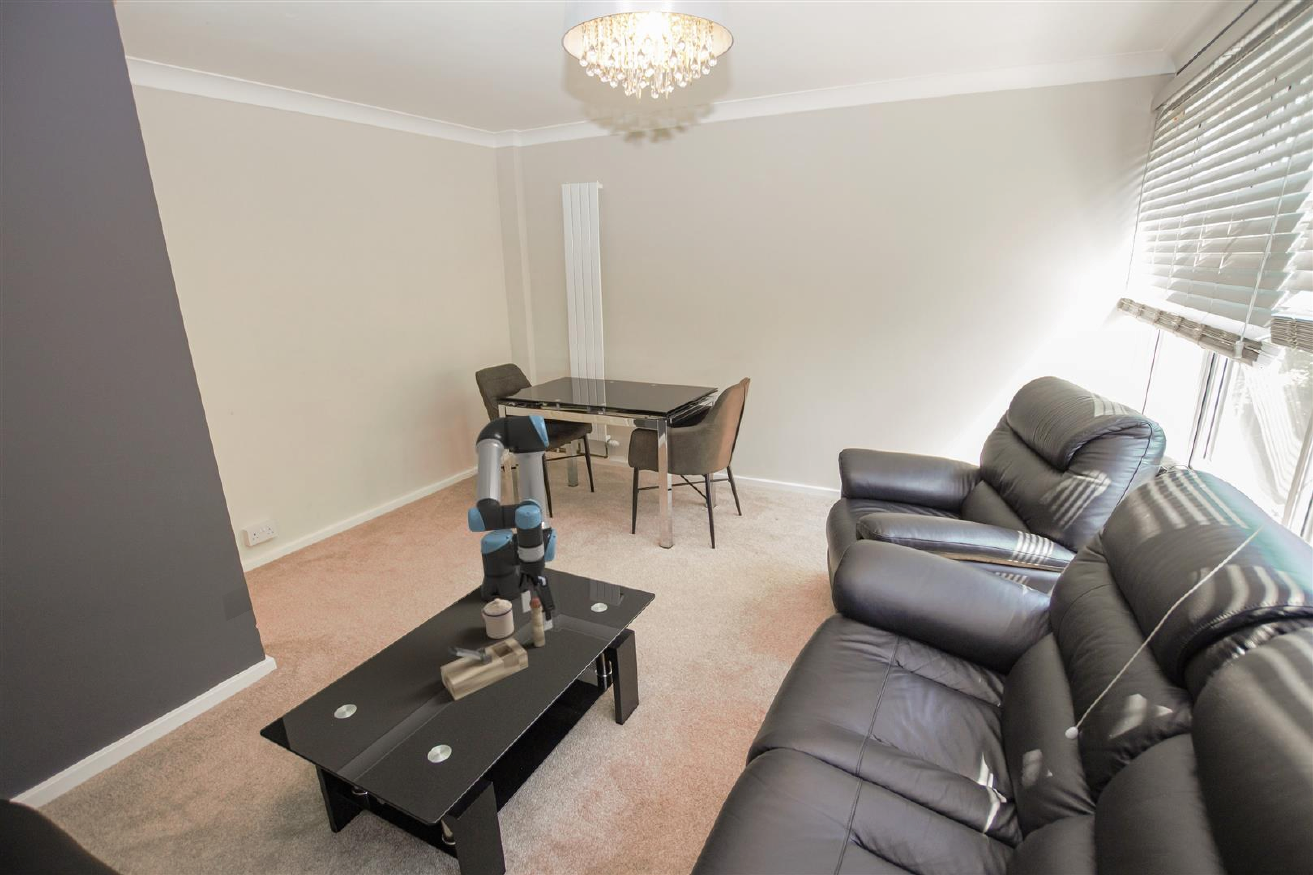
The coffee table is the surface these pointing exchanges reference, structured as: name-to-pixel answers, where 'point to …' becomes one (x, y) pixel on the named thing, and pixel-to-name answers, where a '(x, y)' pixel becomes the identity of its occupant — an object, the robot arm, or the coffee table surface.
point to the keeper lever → (465, 653)
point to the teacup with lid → (498, 618)
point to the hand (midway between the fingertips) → (537, 619)
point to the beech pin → (537, 622)
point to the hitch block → (484, 668)
